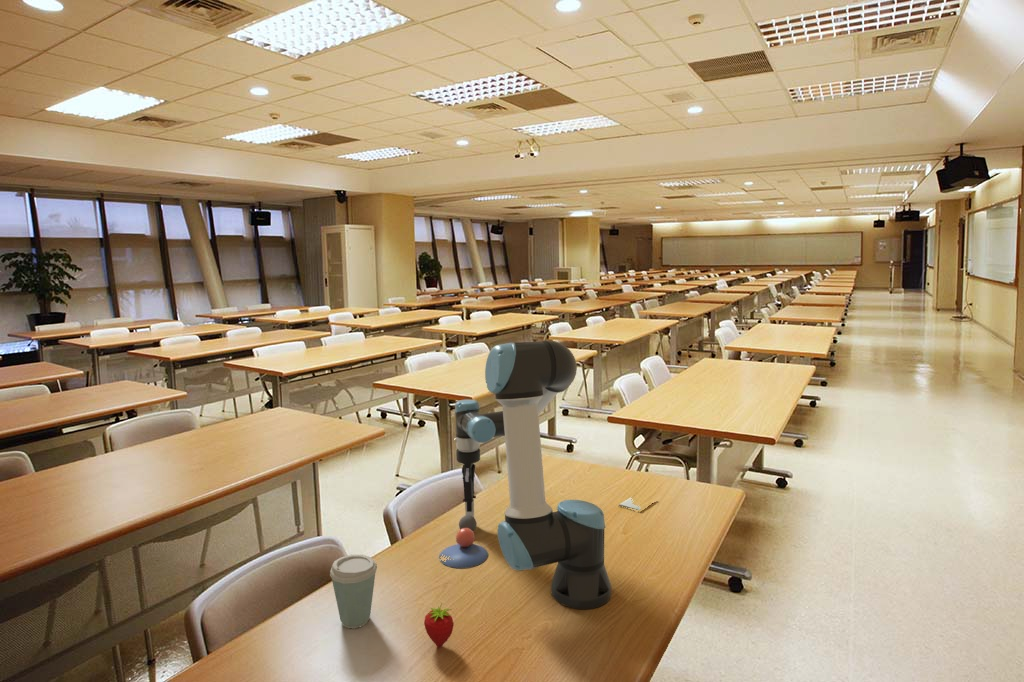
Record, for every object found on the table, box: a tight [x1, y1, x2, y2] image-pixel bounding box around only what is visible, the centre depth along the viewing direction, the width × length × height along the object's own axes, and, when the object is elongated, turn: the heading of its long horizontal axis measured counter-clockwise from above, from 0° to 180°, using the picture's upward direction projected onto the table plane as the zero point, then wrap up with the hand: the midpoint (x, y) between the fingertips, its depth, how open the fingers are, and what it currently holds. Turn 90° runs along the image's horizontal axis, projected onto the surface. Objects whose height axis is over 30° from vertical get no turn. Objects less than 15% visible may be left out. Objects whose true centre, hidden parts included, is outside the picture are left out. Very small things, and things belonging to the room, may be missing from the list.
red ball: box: [455, 528, 476, 547], centre depth 172 cm, size 6×6×6 cm
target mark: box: [438, 543, 489, 569], centre depth 167 cm, size 14×14×1 cm
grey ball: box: [458, 515, 477, 532], centre depth 181 cm, size 6×6×6 cm
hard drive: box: [618, 497, 641, 510], centre depth 201 cm, size 2×8×12 cm
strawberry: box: [423, 602, 455, 648], centre depth 127 cm, size 6×8×10 cm
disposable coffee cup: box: [329, 554, 378, 629], centre depth 136 cm, size 11×11×15 cm
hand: (470, 519), depth 187 cm, fingers closed
